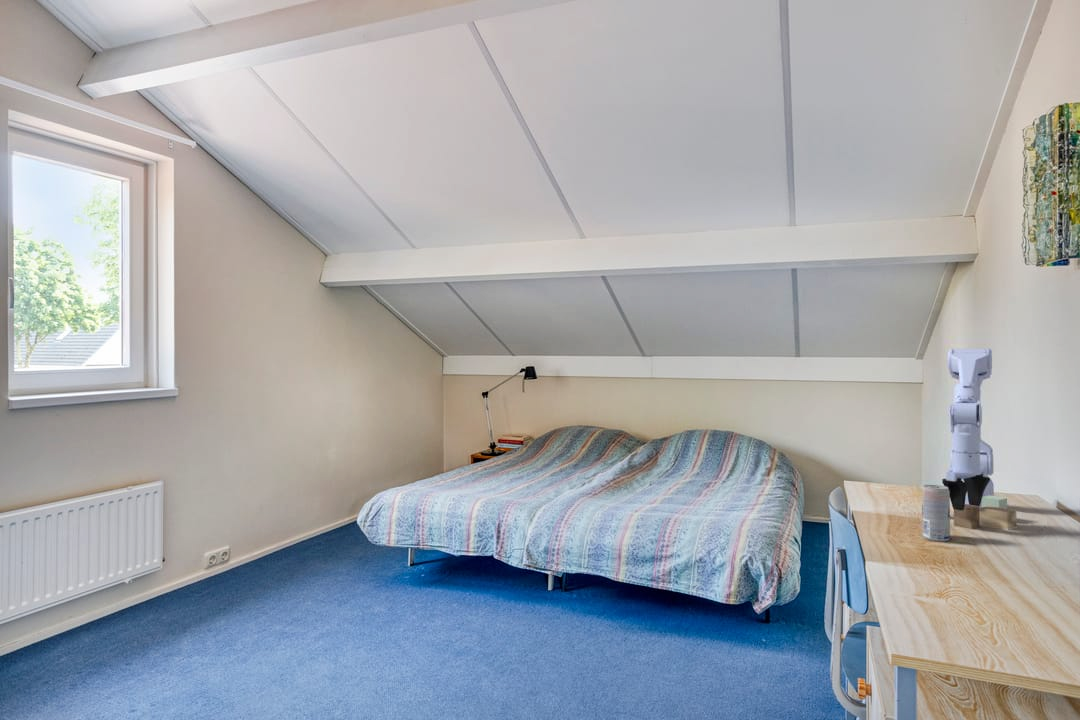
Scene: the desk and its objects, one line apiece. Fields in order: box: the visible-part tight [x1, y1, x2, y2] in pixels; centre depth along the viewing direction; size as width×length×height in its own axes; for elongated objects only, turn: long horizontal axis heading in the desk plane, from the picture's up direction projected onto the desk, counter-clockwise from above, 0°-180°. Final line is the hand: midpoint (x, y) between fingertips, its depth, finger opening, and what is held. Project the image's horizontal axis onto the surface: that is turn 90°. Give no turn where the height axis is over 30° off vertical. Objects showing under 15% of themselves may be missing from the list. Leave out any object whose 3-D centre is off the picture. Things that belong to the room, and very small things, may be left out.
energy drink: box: [922, 484, 951, 543], centre depth 153 cm, size 5×5×12 cm
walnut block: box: [953, 504, 981, 530], centre depth 162 cm, size 4×4×6 cm
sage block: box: [982, 495, 1008, 509], centre depth 168 cm, size 4×4×6 cm
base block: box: [980, 506, 1018, 531], centre depth 161 cm, size 4×6×4 cm
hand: (966, 507), depth 161 cm, fingers open, 7 cm apart
